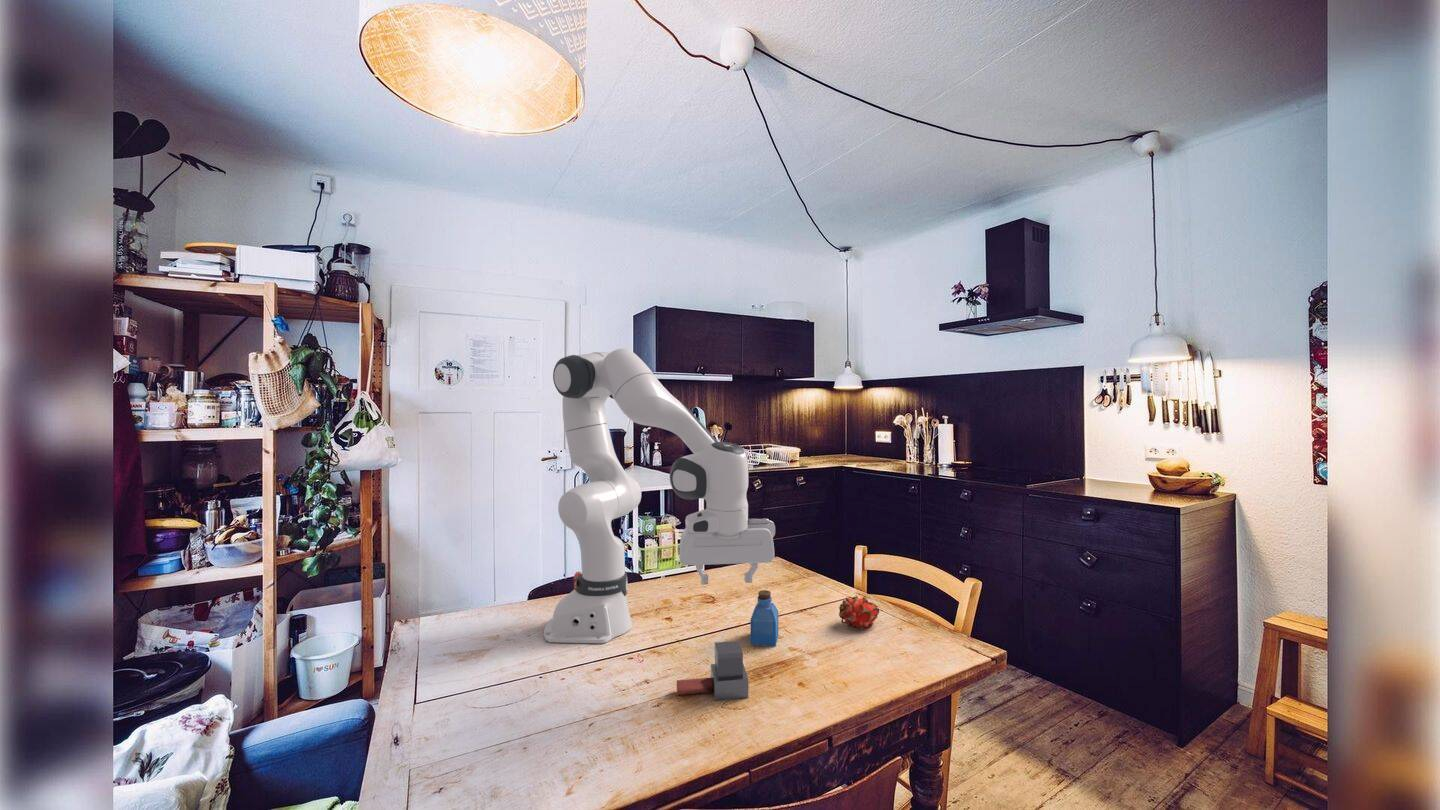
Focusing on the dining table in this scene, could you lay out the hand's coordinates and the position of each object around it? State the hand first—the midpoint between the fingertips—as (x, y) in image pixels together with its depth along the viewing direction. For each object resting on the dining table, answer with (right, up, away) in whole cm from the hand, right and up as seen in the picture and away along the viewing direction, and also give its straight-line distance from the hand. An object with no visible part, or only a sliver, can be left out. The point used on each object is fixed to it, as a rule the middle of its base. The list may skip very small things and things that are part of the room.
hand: (726, 582), depth 125 cm
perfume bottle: (+10, -21, +21) cm, 31 cm away
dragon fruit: (+35, -20, +28) cm, 49 cm away
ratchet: (-3, -22, -2) cm, 23 cm away
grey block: (0, -18, -2) cm, 18 cm away
